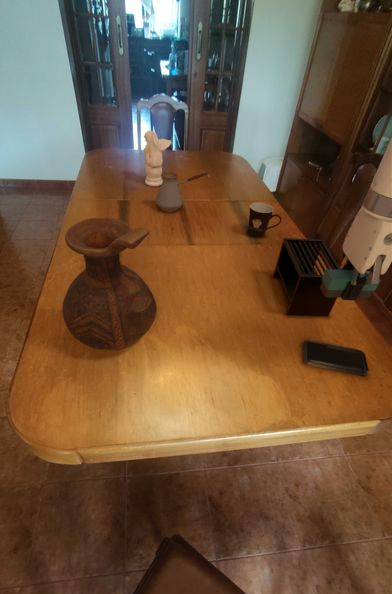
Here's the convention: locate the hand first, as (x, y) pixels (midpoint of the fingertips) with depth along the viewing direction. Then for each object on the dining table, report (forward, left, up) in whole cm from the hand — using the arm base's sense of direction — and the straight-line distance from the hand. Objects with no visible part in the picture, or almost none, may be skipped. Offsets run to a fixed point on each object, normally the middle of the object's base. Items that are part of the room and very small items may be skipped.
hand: (344, 292), depth 66 cm
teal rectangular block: (0, 0, 0) cm, 0 cm away
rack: (-3, -25, -19) cm, 31 cm away
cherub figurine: (+44, -109, -19) cm, 119 cm away
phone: (-5, +2, -19) cm, 20 cm away
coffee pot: (+33, -82, -19) cm, 90 cm away
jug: (+50, -7, -19) cm, 54 cm away
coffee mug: (+3, -62, -19) cm, 65 cm away
